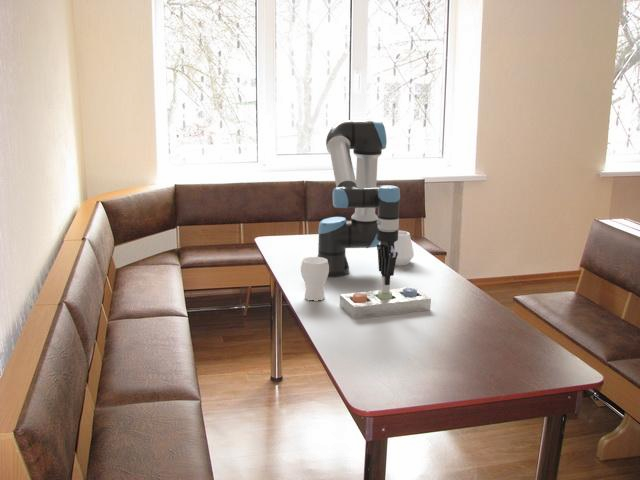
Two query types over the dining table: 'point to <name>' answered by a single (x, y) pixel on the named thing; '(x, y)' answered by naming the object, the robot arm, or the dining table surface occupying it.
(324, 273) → the cup
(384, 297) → the button sage
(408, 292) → the button slate
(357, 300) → the button terracotta
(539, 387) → the dining table surface
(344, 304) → the panel
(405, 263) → the white vase
